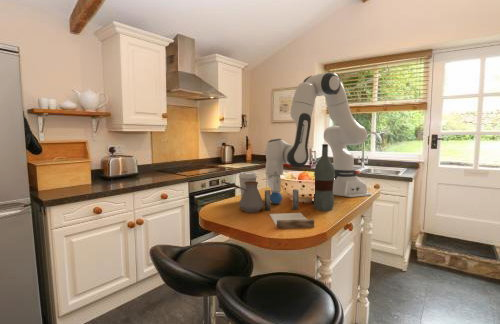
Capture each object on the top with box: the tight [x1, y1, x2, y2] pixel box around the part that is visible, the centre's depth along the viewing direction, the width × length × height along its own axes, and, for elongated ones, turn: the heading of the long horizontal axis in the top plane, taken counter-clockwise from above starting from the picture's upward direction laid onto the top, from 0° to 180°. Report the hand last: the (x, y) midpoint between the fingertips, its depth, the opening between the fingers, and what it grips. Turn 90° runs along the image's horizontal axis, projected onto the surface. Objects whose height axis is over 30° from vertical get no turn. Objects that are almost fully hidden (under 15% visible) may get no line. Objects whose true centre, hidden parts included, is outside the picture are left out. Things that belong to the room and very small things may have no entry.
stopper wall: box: [276, 218, 315, 230], centre depth 107 cm, size 14×2×2 cm, turn 96°
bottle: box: [313, 143, 335, 212], centre depth 131 cm, size 9×9×30 cm
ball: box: [270, 192, 283, 205], centre depth 141 cm, size 6×6×6 cm
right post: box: [292, 188, 299, 211], centre depth 131 cm, size 3×3×9 cm
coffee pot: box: [221, 181, 265, 213], centre depth 126 cm, size 21×12×15 cm, turn 131°
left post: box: [264, 189, 272, 212], centre depth 130 cm, size 3×3×9 cm
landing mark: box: [269, 212, 307, 226], centre depth 117 cm, size 14×14×1 cm
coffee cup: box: [238, 171, 258, 198], centre depth 144 cm, size 10×10×15 cm
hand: (273, 197), depth 145 cm, fingers closed
